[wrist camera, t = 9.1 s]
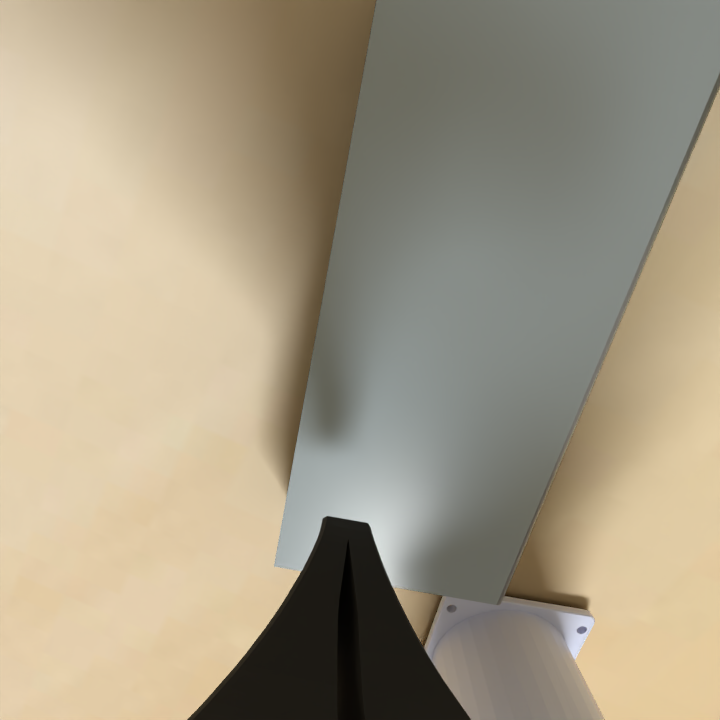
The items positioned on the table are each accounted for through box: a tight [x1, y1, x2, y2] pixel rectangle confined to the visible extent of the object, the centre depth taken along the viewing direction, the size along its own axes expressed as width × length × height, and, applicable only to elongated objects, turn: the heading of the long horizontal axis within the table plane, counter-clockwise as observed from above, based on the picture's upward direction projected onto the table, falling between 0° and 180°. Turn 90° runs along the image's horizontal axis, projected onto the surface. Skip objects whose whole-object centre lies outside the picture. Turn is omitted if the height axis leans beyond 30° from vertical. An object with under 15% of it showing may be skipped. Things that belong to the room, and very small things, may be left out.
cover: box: [274, 0, 720, 605], centre depth 12 cm, size 20×9×1 cm, turn 168°
